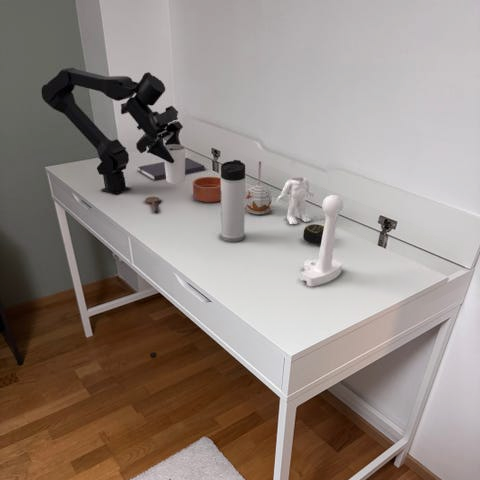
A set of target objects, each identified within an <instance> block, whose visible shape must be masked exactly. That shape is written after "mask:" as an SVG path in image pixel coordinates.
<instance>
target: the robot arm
mask: <svg viewBox="0 0 480 480" xmlns="http://www.w3.org/2000/svg"><path fill="white" fill-rule="evenodd" d="M76 86H78V87H80V88H86V89H89V90H93V91H96V92H100V93H103V94H104V95H105V96H106V97H107V98H110V99H111V100H114V101H116V102H120V101H123V100H126V102H124V103H121V104H120V115H125V114H129V115H130V117H132V119H133V120H134V121H135V122H136V124H137V126H136V129H137V130H138V131H140V130H142V131H143V132H144V134H143V135H142V136H141V137H139V138H140V139H138V140H137V142H136V143H135V146H136V150H137V151H138V152H139V153H140V154H142V153H145V152H146V153H147V154H151V155H153V156H156V157H158V158H160V159H162V160H163V161H164V160H166V161H168V162H170V163H174V159H173V158H172V156H171V155H170V153H169V152H168V150H167V149H166V147H165V146H166V145H171V144H177V145H182V144H181V141H180V133H181V131H182V129H183V128H184V126H183V125H182V123H181V122H180V121H178V119H179V118H178V115H179V111H178V110H177V109H176V107H174V106H173V105H169V106H167V107H165V111H163V112H161V113H160V112H159V111H156V110H155V111H153V110H152V109H151V108H150V107H152V106H155V104H156V103H157V102H158V100H159V99H160V98H161V97H162V96H163V94H164V93H165V92H166V86H165V84H164V82H163V81H162V80H161V79H160V78H158V77H157V76H156V75H153V74H151V72H149V71H148V72H144V74H143V75H142V77H141V79H140V81H139V82H137V81H134V80H133V79H132V78H131V77H130V76H126V75H113V76H107V75H102V74H98V73H93V72H89V71H84V70H81V69H77V68H75V67H67V68H62V69H61V70H60V71H59V72H58V74H57V75H55V76H54V77H53V78H52V79H50V80H49V81H48V82H47V83H46V84H43V85H42V87H41V98H42V99H43V101H44V102H45V103H46V104H47V105H48V106H49V107H50V108H52V109H53V110H55V111H57V112H59V113H61V114H64V116H65V117H66V118H67V119H68V120H69V121H70V122H71V123H72V124H73V125H74V127H75V128H76V129H77V130H78V131H79V132H80V133H81V134H82V135H83V136H84V137H85V138H86V139H87V141H88V142H89V143H90V144H91V145H92V146H93V147H94V148H95V149H96V152H97V155H98V158H99V160H100V161H101V162H100V163H99V164H98V166H97V167H96V170H97V173H98V174H99V175H100V176H101V175H102V178H103V185H104V187H103V188H101V192H106V193H109V194H112V195H118V194H120V193H122V192H126V191H127V190H129V189H130V188H129V186H126V178H125V176H124V174H125V173H124V170H126V169H127V165H128V163H129V162H130V158H129V157H130V154H129V153H128V151H127V147H125V146H124V145H123V144H122V143H121V141H120V140H119V139H118V138H115V139H113V140H111V139H109V138H108V137H107V136H106V135H105V133H104V132H103V131H101V129H100V128H99V127H98V126H97V125H96V124H95V122H94V121H92V120H91V118H90V117H89V116H88V115H87V114H86V113H85V112H84V111H83V109H82V108H81V107H80V106H79V105H78V104H77V103H76V99H75V95H74V93H73V91H74V90H75V88H76ZM164 141H165V142H164ZM147 148H148V149H147Z"/></svg>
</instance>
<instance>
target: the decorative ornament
mask: <svg viewBox="0 0 480 480" xmlns="http://www.w3.org/2000/svg"><path fill="white" fill-rule="evenodd" d="M261 173H262V161H261V160H259V161H258V175H257V184H255V186H254V185H252V186H251V187H250V188H249V189H248V190H247V193H246V192H245V203H246V204H245V212H247V213H249V214H252V215H253V214H254V215H264V214H268V213H270V212H271V211H272V207H271V205H272V203H273V202H272V200H273V195H272V194H271V191H270V189H268V187H266V186H264V185H263V184H261V177H262V176H261V175H262V174H261Z"/></svg>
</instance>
